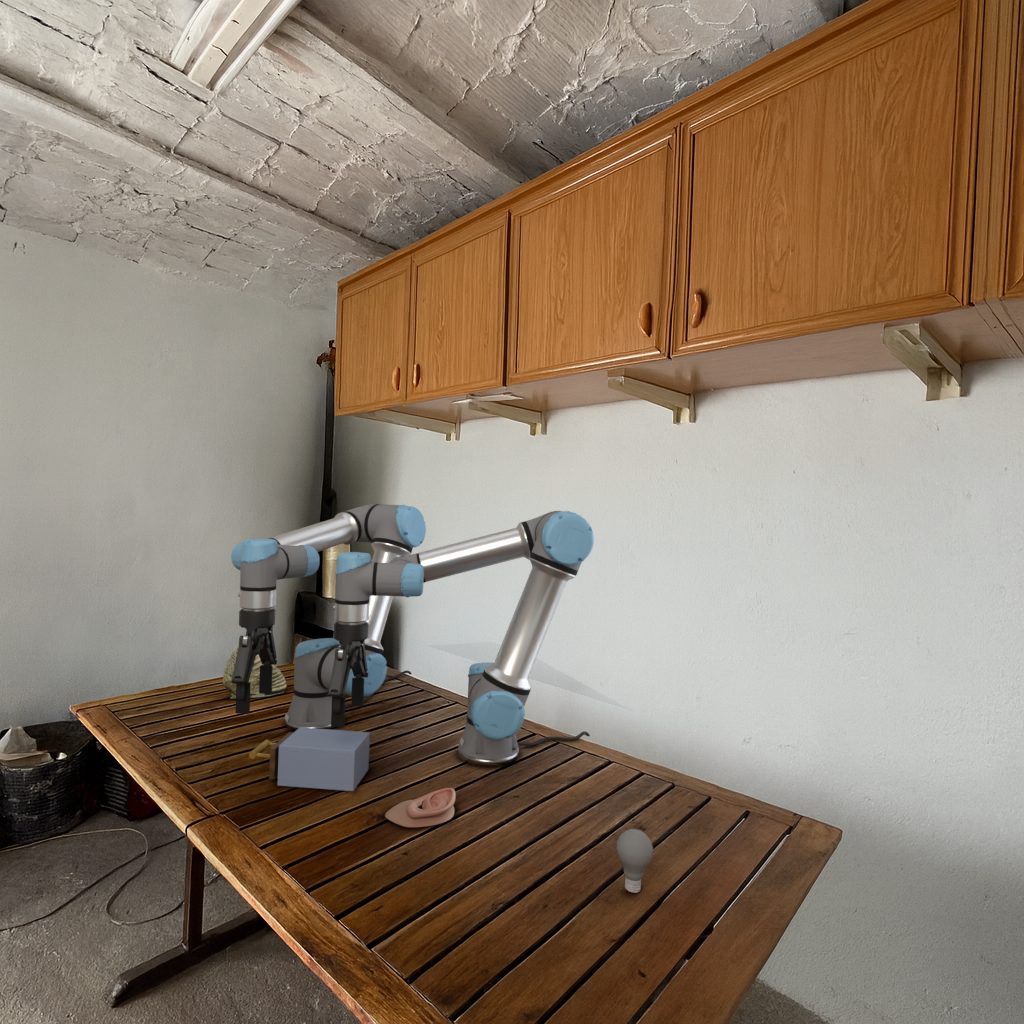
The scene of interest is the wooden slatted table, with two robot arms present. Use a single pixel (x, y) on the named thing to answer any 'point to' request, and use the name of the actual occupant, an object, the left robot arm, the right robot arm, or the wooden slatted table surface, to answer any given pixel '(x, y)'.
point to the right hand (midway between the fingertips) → (347, 715)
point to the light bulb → (634, 857)
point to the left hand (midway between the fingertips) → (254, 702)
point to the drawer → (273, 754)
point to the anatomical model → (424, 809)
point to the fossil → (253, 678)
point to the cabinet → (323, 759)
